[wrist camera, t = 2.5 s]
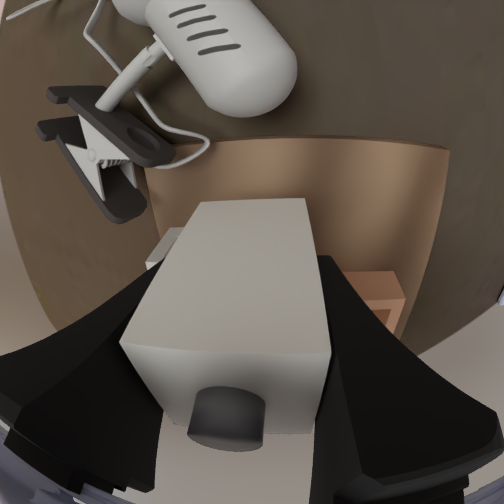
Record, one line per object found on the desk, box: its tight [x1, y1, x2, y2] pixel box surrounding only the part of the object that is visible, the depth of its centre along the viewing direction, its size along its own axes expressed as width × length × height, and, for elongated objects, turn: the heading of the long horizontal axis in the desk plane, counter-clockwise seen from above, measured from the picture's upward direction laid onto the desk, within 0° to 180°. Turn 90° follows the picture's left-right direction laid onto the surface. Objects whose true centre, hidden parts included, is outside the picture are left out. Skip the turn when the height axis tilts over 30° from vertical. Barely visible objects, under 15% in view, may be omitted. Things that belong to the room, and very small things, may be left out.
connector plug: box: [119, 198, 331, 452], centre depth 8 cm, size 4×4×8 cm
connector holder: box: [342, 271, 406, 334], centre depth 17 cm, size 7×7×2 cm
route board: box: [144, 135, 450, 340], centre depth 16 cm, size 16×15×1 cm
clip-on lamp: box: [6, 0, 297, 224], centre depth 8 cm, size 12×6×18 cm
